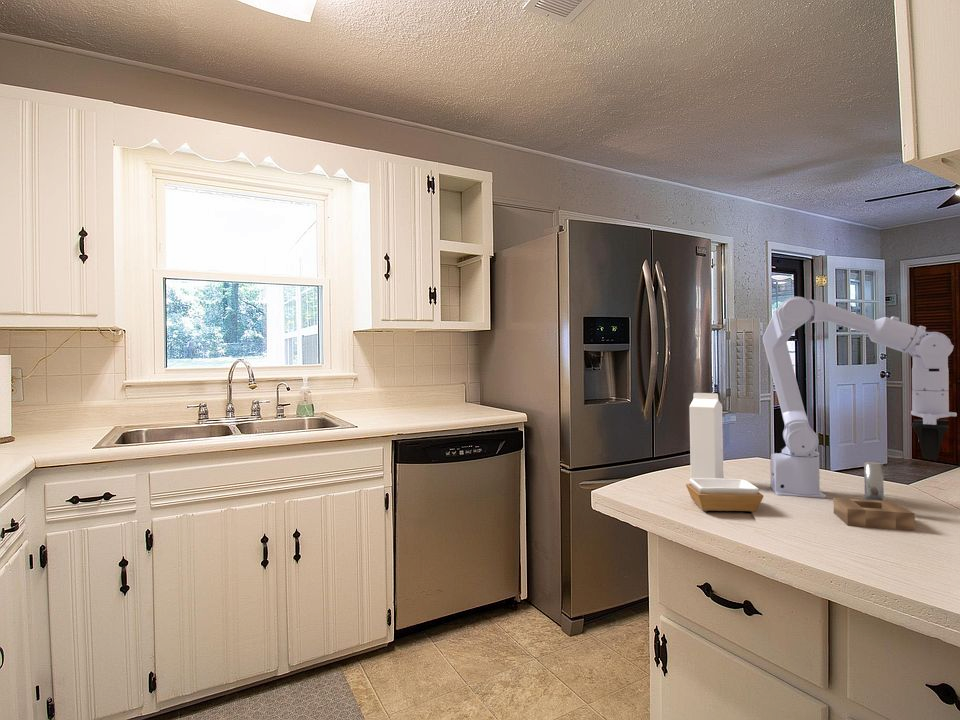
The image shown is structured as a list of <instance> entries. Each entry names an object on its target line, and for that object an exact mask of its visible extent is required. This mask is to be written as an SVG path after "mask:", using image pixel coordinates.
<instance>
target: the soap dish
mask: <svg viewBox="0 0 960 720" xmlns="http://www.w3.org/2000/svg"><path fill="white" fill-rule="evenodd" d="M685 486H686V488H687V491H688V493H689V496H690V498H691V500H692V501H693V502H694V503H695V504H696V505H697V506H698V507H699V508H700V509H701V510H702V511H703V512H708V511H720V512H721V511H723V512H724V511H726V512H728V511H729V512H749V513H754V512H756V511H757V510H758V508H759V506H760V505H761V502H762V501H763V499H764V497H765V496H764V494H762V493H761V492H760V489H759V488H758V487H757V486H755V484H752V483H751V482H750V481H747V480H746V479H742V478H741V479H740V478H724V477H723V478H691V477H690V478H689V483H685Z"/></svg>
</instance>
